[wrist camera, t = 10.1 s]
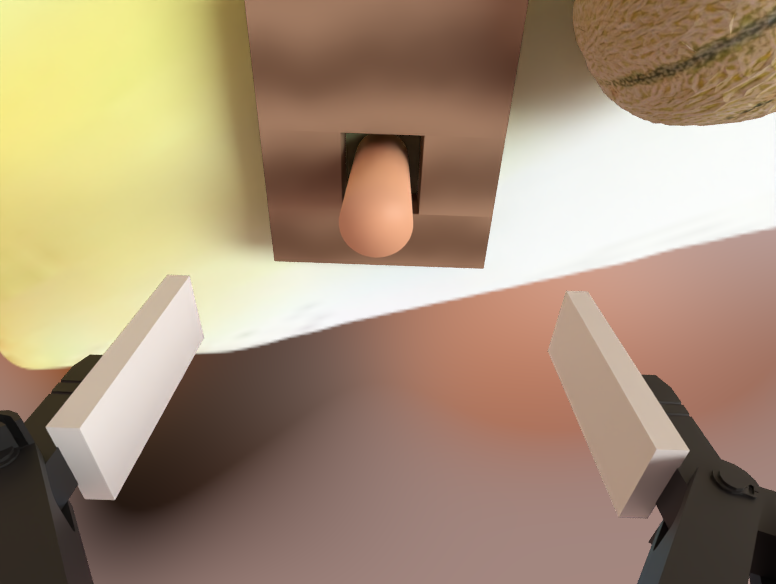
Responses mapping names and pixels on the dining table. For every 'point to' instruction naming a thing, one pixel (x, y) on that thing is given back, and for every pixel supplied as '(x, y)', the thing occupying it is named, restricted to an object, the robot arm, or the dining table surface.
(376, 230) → the peg
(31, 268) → the dining table surface
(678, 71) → the cantaloupe
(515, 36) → the socket block
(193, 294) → the robot arm
